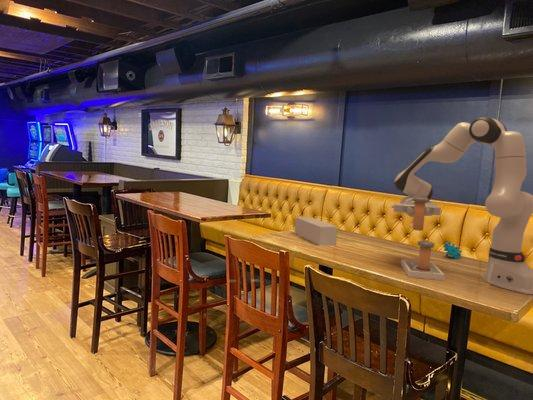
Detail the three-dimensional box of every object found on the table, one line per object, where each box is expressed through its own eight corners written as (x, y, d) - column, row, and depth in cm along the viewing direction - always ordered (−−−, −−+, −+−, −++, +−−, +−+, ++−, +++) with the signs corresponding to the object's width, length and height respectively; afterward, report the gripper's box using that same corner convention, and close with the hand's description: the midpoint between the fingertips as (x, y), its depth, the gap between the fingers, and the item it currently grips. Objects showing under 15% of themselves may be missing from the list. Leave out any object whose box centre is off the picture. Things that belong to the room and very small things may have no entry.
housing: (400, 266, 188) (401, 259, 187) (432, 269, 186) (432, 262, 185) (408, 279, 168) (409, 271, 168) (443, 282, 166) (444, 274, 166)
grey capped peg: (434, 275, 172) (437, 243, 170) (424, 277, 169) (427, 244, 167) (421, 271, 178) (424, 240, 176) (411, 273, 174) (414, 241, 173)
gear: (448, 256, 206) (442, 240, 212) (441, 262, 210) (435, 246, 217) (466, 259, 209) (460, 243, 215) (459, 264, 213) (452, 248, 219)
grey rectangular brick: (335, 245, 226) (337, 226, 224) (319, 246, 222) (320, 226, 221) (309, 233, 255) (310, 217, 254) (294, 234, 251) (295, 217, 250)
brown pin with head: (428, 230, 177) (431, 199, 175) (419, 231, 173) (422, 199, 172) (416, 228, 182) (419, 197, 181) (406, 228, 179) (409, 197, 177)
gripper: (391, 199, 191) (396, 202, 177) (436, 202, 188) (444, 205, 174) (390, 212, 191) (394, 216, 178) (435, 215, 188) (443, 219, 175)
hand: (420, 211), depth 176 cm, fingers closed on brown pin with head, 4 cm apart
